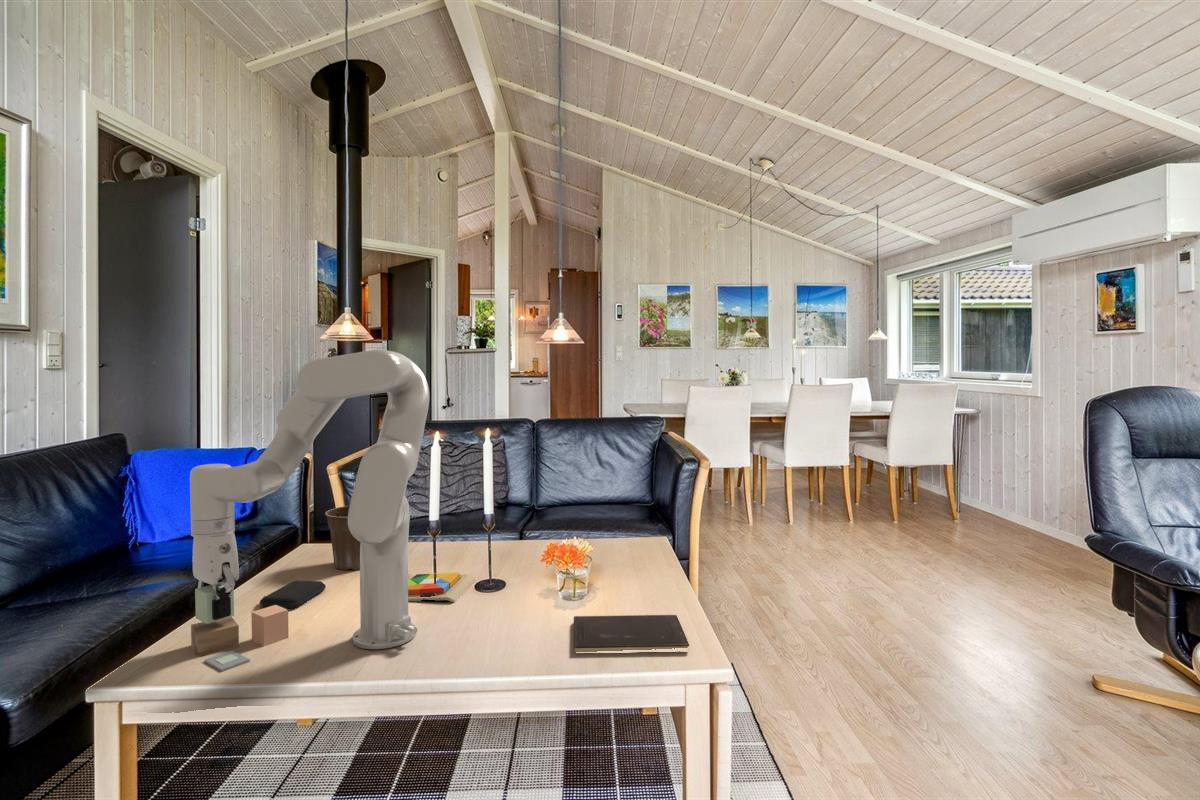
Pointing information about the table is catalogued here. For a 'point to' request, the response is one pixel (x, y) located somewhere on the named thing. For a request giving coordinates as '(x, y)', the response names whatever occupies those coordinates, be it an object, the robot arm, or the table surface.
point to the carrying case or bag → (293, 594)
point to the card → (227, 660)
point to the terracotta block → (269, 625)
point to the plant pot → (343, 540)
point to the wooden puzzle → (438, 586)
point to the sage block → (208, 603)
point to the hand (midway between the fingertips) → (214, 613)
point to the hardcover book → (628, 633)
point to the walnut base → (214, 636)
